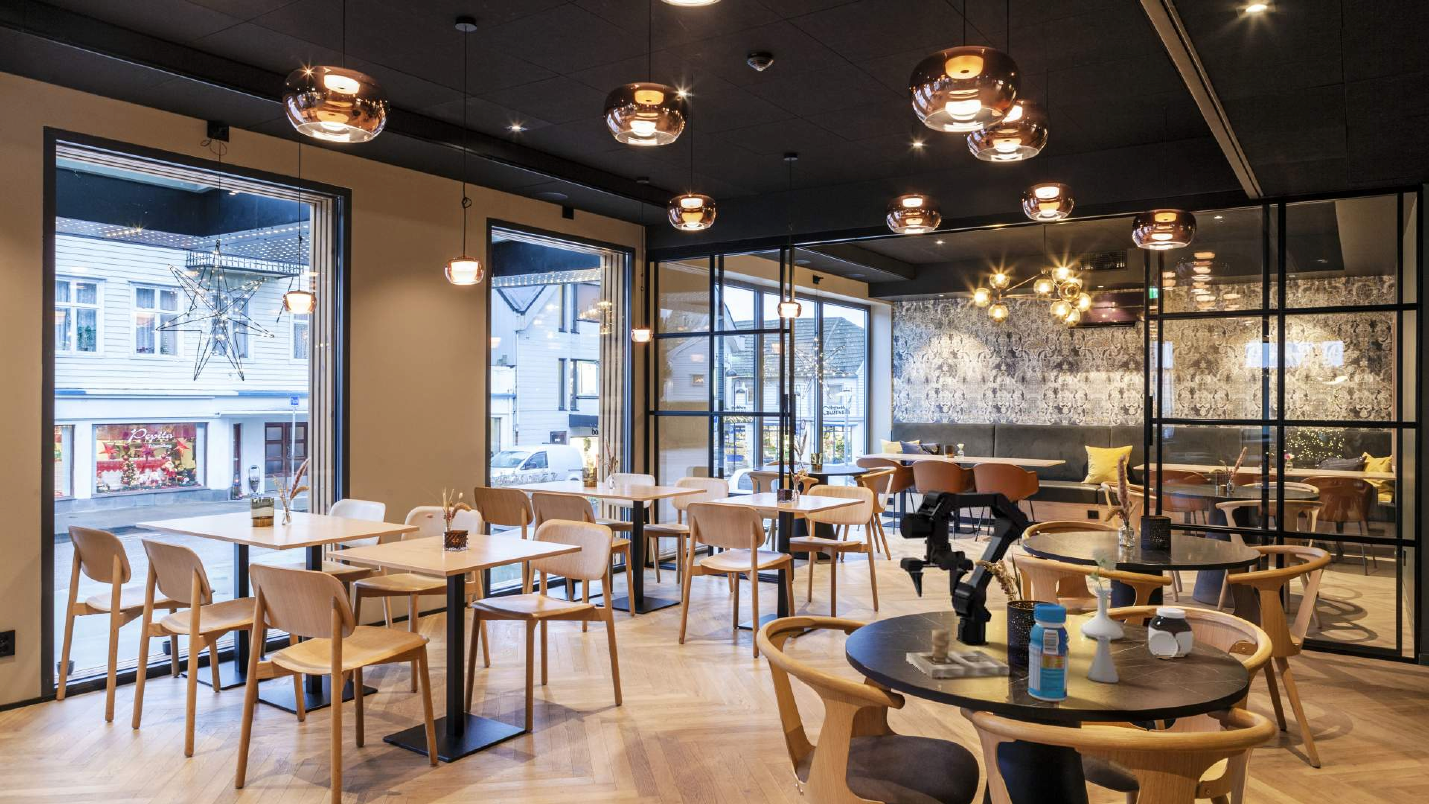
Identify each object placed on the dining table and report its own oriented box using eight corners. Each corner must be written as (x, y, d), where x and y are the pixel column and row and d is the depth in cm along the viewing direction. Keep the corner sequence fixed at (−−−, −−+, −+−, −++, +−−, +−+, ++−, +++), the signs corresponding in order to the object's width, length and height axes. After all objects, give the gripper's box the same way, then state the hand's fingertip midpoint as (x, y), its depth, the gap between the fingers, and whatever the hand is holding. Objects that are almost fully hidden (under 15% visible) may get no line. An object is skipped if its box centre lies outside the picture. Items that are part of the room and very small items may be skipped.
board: (979, 658, 235) (979, 649, 235) (1009, 674, 222) (1009, 665, 222) (906, 661, 231) (906, 652, 231) (931, 678, 217) (932, 668, 217)
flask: (1122, 685, 216) (1123, 642, 216) (1089, 682, 218) (1090, 639, 218) (1115, 676, 223) (1116, 634, 223) (1083, 673, 225) (1084, 632, 225)
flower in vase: (1130, 643, 255) (1133, 552, 254) (1089, 642, 255) (1091, 551, 255) (1111, 631, 268) (1113, 544, 267) (1071, 630, 268) (1074, 543, 268)
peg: (943, 665, 228) (944, 629, 228) (951, 670, 224) (952, 633, 224) (928, 666, 227) (929, 629, 227) (935, 671, 223) (936, 633, 223)
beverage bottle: (1019, 694, 207) (1022, 604, 207) (1042, 688, 212) (1045, 600, 212) (1052, 705, 200) (1055, 612, 200) (1075, 698, 205) (1078, 608, 205)
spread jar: (1183, 651, 248) (1185, 607, 248) (1201, 663, 237) (1203, 617, 237) (1137, 649, 249) (1138, 605, 249) (1152, 660, 238) (1154, 615, 238)
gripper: (918, 542, 237) (916, 604, 237) (985, 542, 241) (983, 602, 241) (900, 536, 247) (898, 594, 247) (964, 535, 252) (962, 593, 252)
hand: (936, 596), depth 247 cm, fingers open, 9 cm apart
